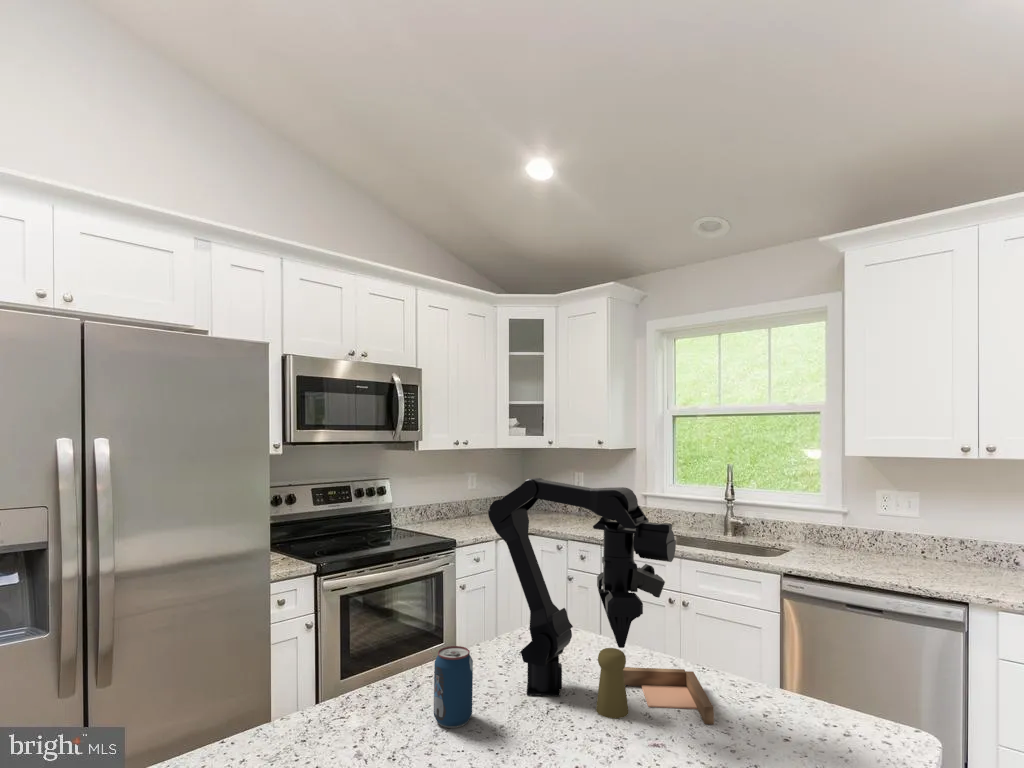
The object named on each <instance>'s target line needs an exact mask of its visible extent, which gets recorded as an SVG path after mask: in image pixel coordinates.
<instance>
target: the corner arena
mask: <svg viewBox="0 0 1024 768" xmlns="http://www.w3.org/2000/svg"><path fill="white" fill-rule="evenodd" d="M623 673H624V680H625V685H628V686H630V687H631V686H632V687H634V686H635V687H641V689H642V691H643V695H644V697H645V700H646V703H647V706H648V708H660V709H662V708H665V709H688V710H689V709H690V710H697V713H698V714H699V715H700V718H701V720H702V722H703V723H704V725H715V717H714V716H715V715H714V711H715V709H714V708H715V707H714V705H713V703H712V702H711V700H710V698H709V697H708V695H707V693H706V691H705V689H704V688H703V686H702V684H701V683H700V681H699V679H698V677H697V675H696V673H695V672H694V671H690V670H689V671H688V670H687V671H686V669H684V668H682V669H681V668H680V669H679V668H658V667H657V668H656V667H626V666H625V667H624V669H623Z"/></svg>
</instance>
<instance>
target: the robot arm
mask: <svg viewBox="0 0 1024 768" xmlns="http://www.w3.org/2000/svg"><path fill="white" fill-rule="evenodd" d="M539 500H541V501H547V502H553V503H556V504H563V505H568V506H573V507H577V508H578V507H579V508H584V509H586V510H588V511H590V512H592V513H593V514H595V515H597V516H599V517H600V518H599V520H598V521H597V522H596V523H595V524H594V525H592V529H594V530H600V531H603V556H602V557H601V563H602V566H603V567H602V569H603V570H602V571H603V572H600V574H598V575H597V577H596V587H597V591H598V595H599V597H600V601H601V603H602V605H603V608H604V611H605V614H606V617H607V619H608V622H609V626H610V629H611V630H612V633H613V635H614V639H615V641H616V644H617V645H616V646H617V647H618V648H620V649H624V648H625V646H626V643H627V639H628V636H629V635H628V634H629V632H630V628H631V624H632V622H634V621H635V620H636V619H637V618H640V617H641V616H642V615H643V614H644V603H643V601H642V599H641V598H640V597H639V596H638V594H636V593H638V589H639V590H641V591H643V592H645V593H648V594H650V595H652V596H653V597H655V598H658V599H659V598H660V597H661V594H662V592H663V590H664V587H665V583H666V581H665V580H664V579H663V578H662V577H661V576H660V575H659V574H656V573H655V568H654V567H653V565H650V564H647V563H645V564H644V565H642V566H641V567H638V564H637V563H636V562H635V560H634V559H635V554H636V555H638V557H639V558H640V559H645V560H646V559H647V560H653V561H654V560H655V561H661V562H668V563H672V562H673V561H674V558H675V555H676V547H677V546H676V545H677V544H676V543H677V542H676V541H677V540H676V539H675V533H674V531H673V530H672V529H673V525H672V523H668V522H662V523H661V522H660V523H659V522H650V521H649V519H648V517H647V515H646V514H645V513H644V511H643V510H642V508H641V507H640V505H639V504H638V502H639V501H638V498H637V496H636V494H635V492H634V491H633V490H632V489H630V488H628V487H625V486H624V487H597V488H596V487H595V488H592V487H588V486H582V485H575V484H569V483H565V482H558V481H552V480H547V479H543V478H541V477H534V478H528V479H526V480H525V481H524V482H523V483H521V484H520V485H519V486H518V487H517V488H515V489H514V490H512V491H510V493H507V494H505V496H504V497H503V498H500V499H499V498H498V499H496V500H494V501H493V502H491V504H490V506H489V509H487V515H488V519H489V521H490V523H491V525H492V527H493V529H494V530H495V532H496V533H497V535H498V536H499V537H500V538H501V539H502V540H503V541H504V542H505V543H506V546H507V547H508V548H507V549H508V551H509V554H510V557H511V559H512V563H513V565H514V568H515V571H516V574H517V577H518V579H519V582H520V586H521V589H522V592H523V594H524V595H523V596H524V597H525V599H526V600H525V601H526V602H527V606H528V608H529V611H530V612H529V613H530V615H529V633H530V637H531V638H530V639H531V641H530V642H529V643H528V644H527V645H526V646H524V648H522V649H521V650H520V656H521V658H522V661H523V663H527V682H526V683H527V686H526V695H527V696H544V697H545V696H548V697H559V696H560V694H561V693H560V690H562V689H563V666H562V665H563V664H562V663H561V662H560V659H559V658H560V656H559V655H562V654H563V653H564V650H565V648H566V647H567V646H568V645H569V644H570V642H571V641H572V637H573V633H572V628H573V627H574V626H573V624H572V623H571V622H570V619H569V617H568V612H567V609H566V608H565V607H563V608H561V609H559V608H558V607H557V606H556V605H555V604H554V603H553V601H552V598H551V596H550V593H549V589H548V587H547V584H546V581H545V579H544V576H543V573H542V569H541V567H540V564H539V562H538V560H537V556H536V554H535V551H534V549H533V545H532V543H531V540H530V535H529V529H530V527H529V526H530V519H529V515H528V511H529V510H531V508H533V507H534V506H535V505H536V504H537V502H538V501H539ZM634 553H635V554H634Z"/></svg>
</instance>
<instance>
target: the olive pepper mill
mask: <svg viewBox="0 0 1024 768" xmlns="http://www.w3.org/2000/svg"><path fill="white" fill-rule="evenodd" d="M597 662H598V666H599V667H600V671H599V673H600V674H599V680H598V681H599V682H598V691H597V699H596V706H595V711H596V713H597V714H598V715H600V716H602V717H604V718H607V719H623V718H625V717H627V716H628V715H629V704H628V697H627V695H628V694H627V691H626V690H627V689H626V686H625V680H624V673H623V669H624V667H626V664H627V657H626V655H625V653H624V652H623V651H622V650H621V649H618V648H615V647H605V648H603V649H601V650H600V651H599V653H598V656H597Z"/></svg>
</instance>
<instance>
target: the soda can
mask: <svg viewBox="0 0 1024 768" xmlns="http://www.w3.org/2000/svg"><path fill="white" fill-rule="evenodd" d="M473 662H474V660H473V657H472V656H471V654H470V649H469V648H467V647H466V646H465V647H464V646H461V645H459V646H458V645H450V646H444V647H442V648H441V649H439V650H438V651H437V656H436V658H435V660H434V665H433V666H434V670H433V671H434V675H433V677H434V678H433V717H434V718H435V720H436V722H437V724H438V725H439V726H441V727H443V728H447V729H448V728H449V729H455V728H461V727H463V726H465V725H466V724H468V722H469V720H470V719H471V717H472V715H473V690H474V689H473V685H474V684H473V679H474V678H473V675H474V674H473V673H474V672H473V671H474V670H473V669H474V668H473V667H474V664H473Z"/></svg>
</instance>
